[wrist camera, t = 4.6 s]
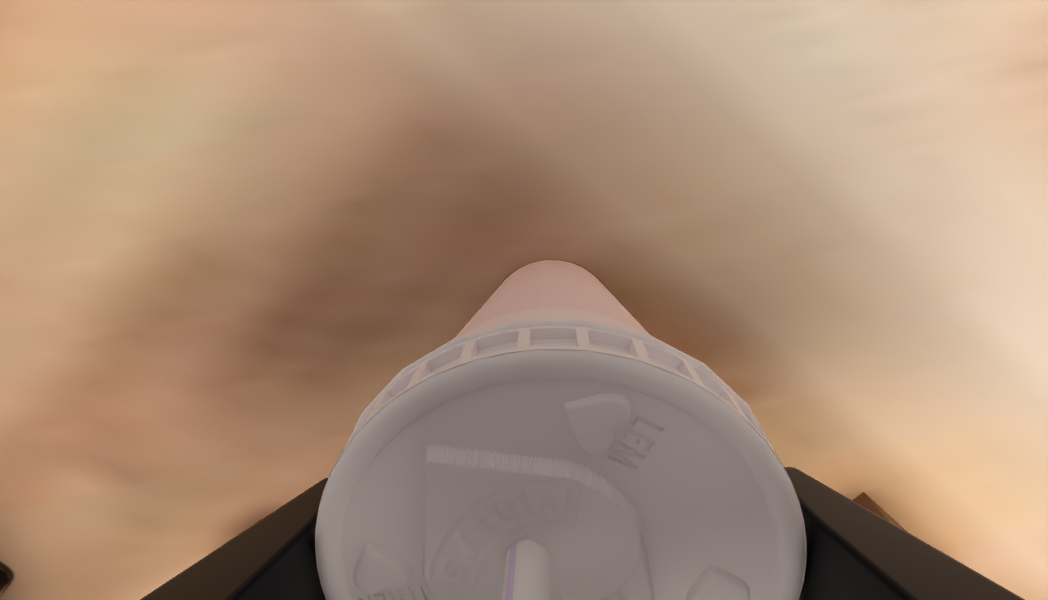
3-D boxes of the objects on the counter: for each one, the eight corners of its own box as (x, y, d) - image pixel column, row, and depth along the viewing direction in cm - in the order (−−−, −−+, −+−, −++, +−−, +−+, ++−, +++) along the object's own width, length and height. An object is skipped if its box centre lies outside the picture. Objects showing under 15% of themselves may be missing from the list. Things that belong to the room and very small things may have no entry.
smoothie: (569, 164, 15) (781, 537, 1) (703, 335, 16) (1486, 1382, 3) (400, 305, 16) (-310, 1160, 3) (536, 450, 17) (500, 1499, 4)
